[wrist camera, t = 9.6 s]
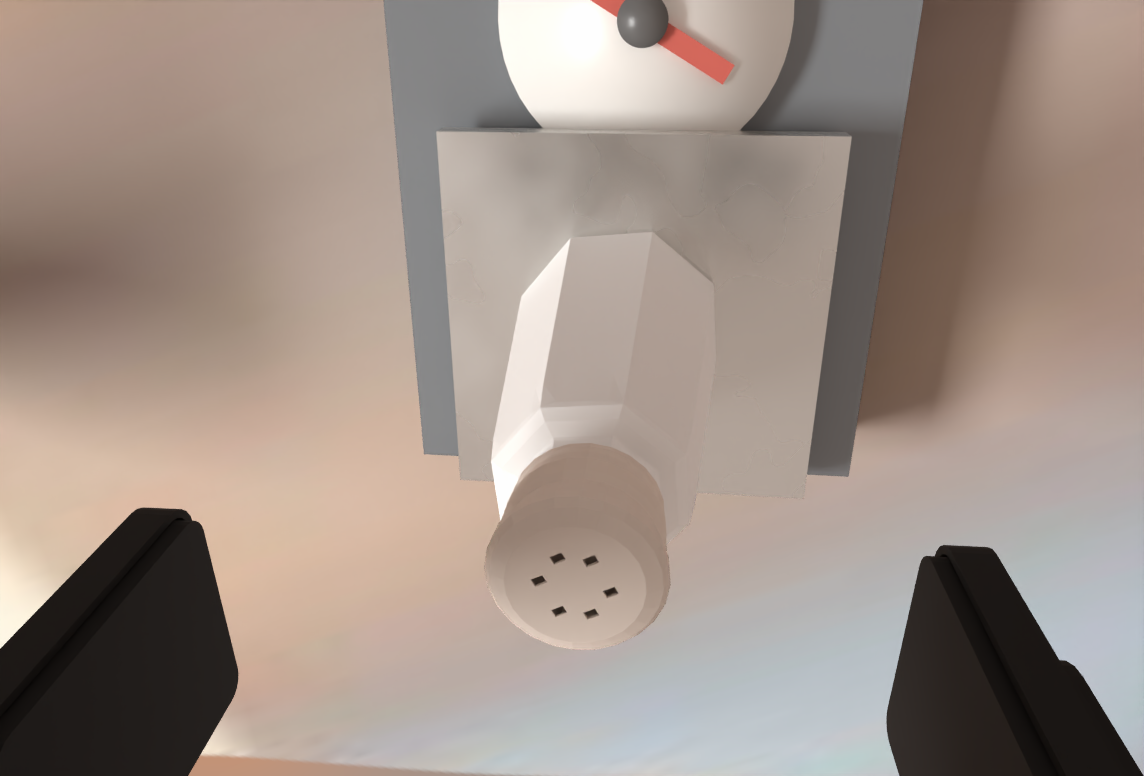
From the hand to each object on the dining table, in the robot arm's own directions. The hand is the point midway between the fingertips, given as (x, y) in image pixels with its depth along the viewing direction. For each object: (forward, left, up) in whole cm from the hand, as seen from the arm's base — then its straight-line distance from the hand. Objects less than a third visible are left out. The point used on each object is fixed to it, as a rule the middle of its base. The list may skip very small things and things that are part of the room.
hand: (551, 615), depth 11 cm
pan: (+1, +1, -13) cm, 13 cm away
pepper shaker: (+1, 0, -13) cm, 13 cm away
